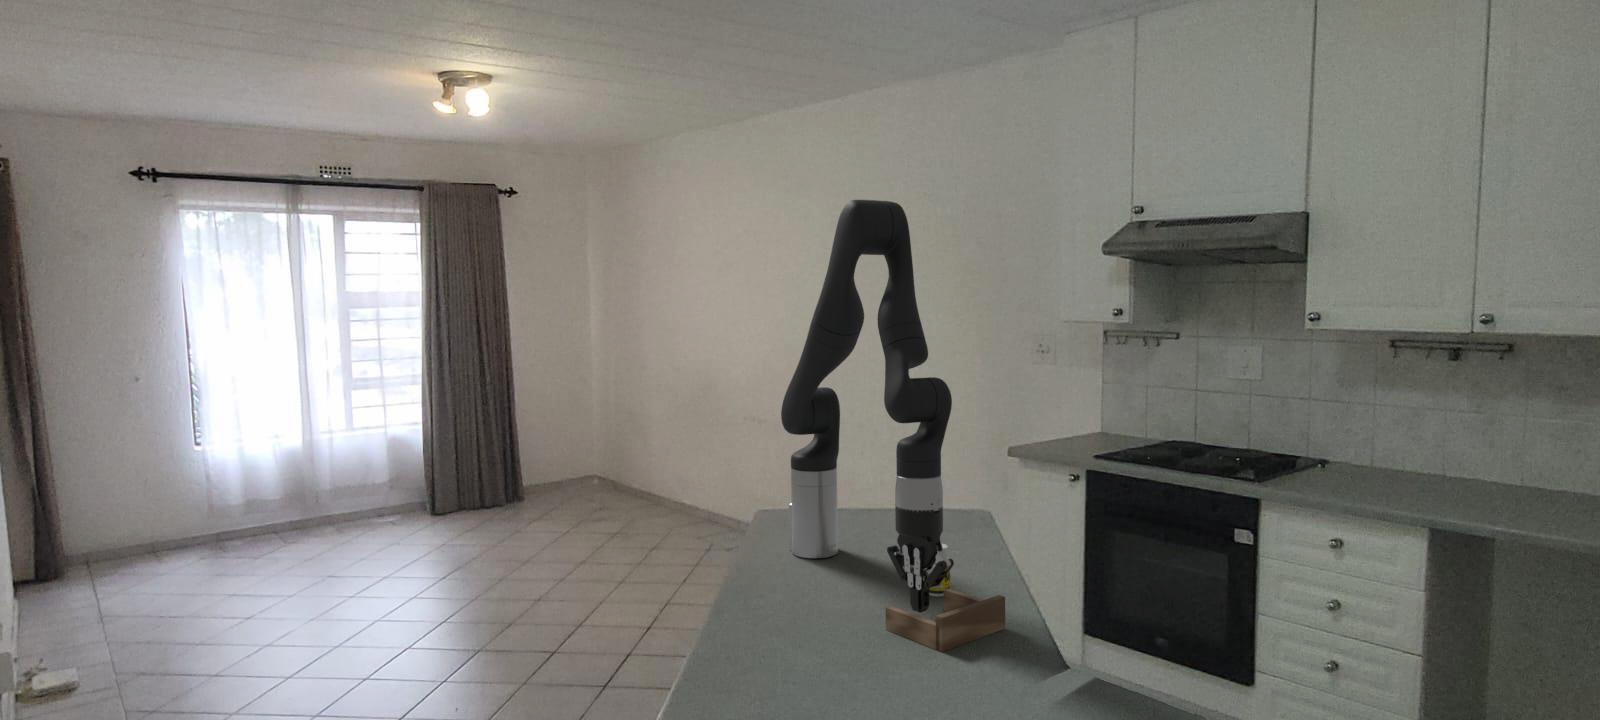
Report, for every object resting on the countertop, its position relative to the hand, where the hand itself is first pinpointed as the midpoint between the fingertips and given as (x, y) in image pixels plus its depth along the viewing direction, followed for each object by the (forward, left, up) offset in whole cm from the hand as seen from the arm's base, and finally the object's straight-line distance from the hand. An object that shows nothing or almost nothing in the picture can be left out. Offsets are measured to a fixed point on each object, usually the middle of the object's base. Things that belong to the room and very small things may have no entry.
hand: (919, 610), depth 135 cm
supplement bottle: (-7, +12, -2) cm, 14 cm away
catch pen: (+5, 0, -2) cm, 5 cm away
